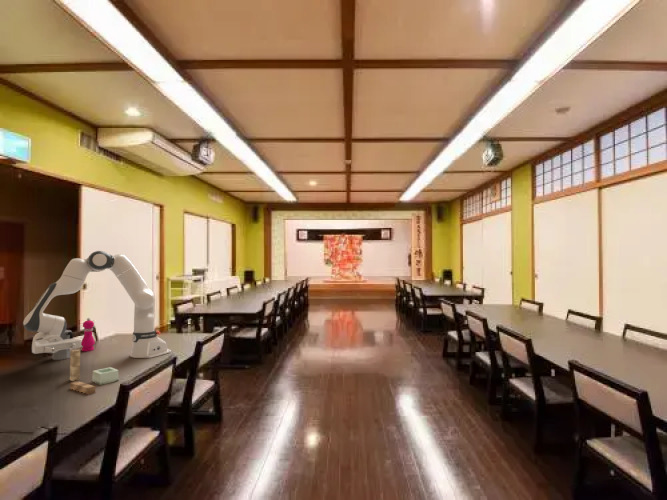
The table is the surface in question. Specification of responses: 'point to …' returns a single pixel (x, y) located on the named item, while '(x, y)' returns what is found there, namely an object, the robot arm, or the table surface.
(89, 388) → the tan wooden bar
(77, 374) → the tan wooden block
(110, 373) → the pale green hollow block
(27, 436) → the table surface
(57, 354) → the coffeepot
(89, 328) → the pepper mill
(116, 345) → the table surface
